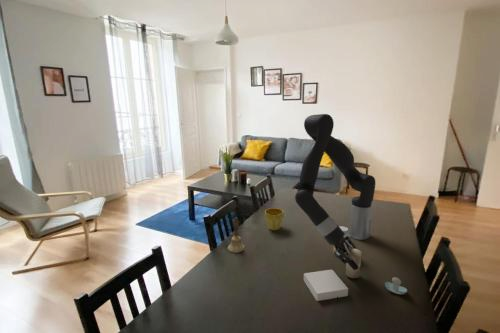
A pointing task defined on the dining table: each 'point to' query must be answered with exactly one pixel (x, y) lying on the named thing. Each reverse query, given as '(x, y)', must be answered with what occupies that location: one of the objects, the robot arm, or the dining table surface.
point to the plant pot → (274, 218)
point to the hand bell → (236, 239)
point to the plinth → (325, 285)
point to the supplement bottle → (344, 234)
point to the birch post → (356, 258)
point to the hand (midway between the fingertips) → (358, 265)
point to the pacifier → (395, 286)
